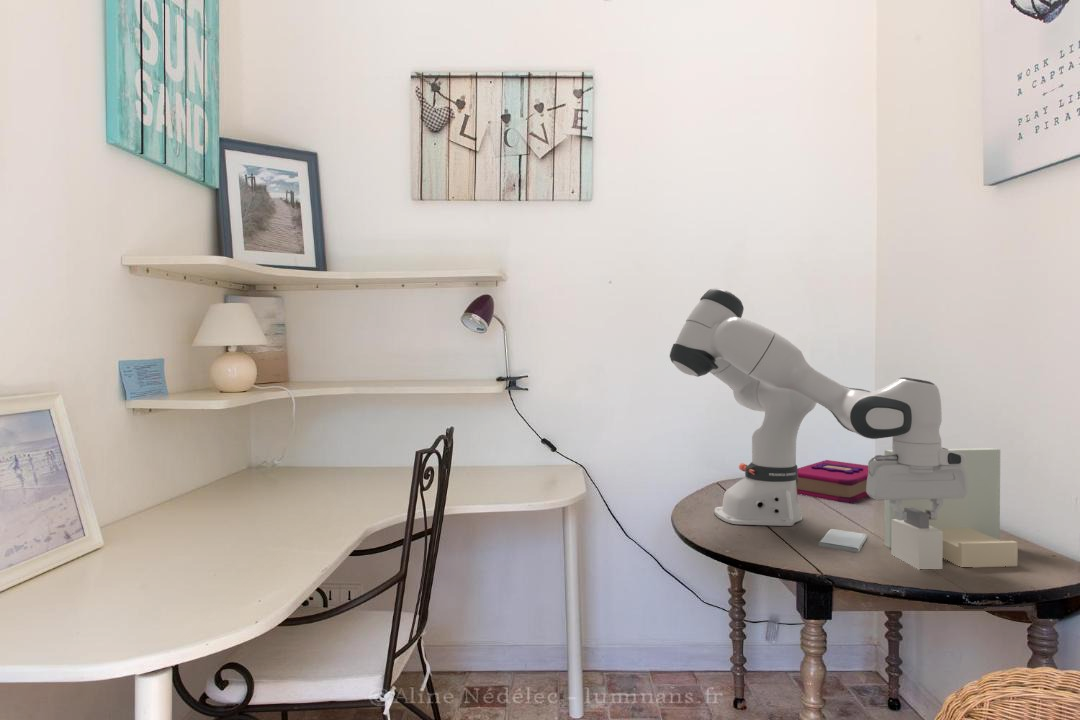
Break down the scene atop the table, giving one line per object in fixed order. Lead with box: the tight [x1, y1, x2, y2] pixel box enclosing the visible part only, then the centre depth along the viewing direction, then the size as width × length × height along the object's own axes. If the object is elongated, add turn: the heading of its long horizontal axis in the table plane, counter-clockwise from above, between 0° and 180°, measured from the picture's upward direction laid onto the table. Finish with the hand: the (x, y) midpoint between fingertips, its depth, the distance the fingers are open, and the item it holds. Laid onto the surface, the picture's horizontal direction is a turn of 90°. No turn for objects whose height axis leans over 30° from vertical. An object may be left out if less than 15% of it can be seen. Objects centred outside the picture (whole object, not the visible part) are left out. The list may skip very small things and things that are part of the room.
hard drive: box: [818, 528, 867, 554], centre depth 143 cm, size 2×8×12 cm
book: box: [796, 459, 870, 504], centre depth 194 cm, size 21×28×8 cm
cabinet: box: [890, 508, 943, 570], centre depth 130 cm, size 5×9×11 cm, turn 3°
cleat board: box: [883, 447, 1019, 568], centre depth 134 cm, size 26×15×22 cm, turn 93°
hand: (915, 519), depth 130 cm, fingers open, 5 cm apart
